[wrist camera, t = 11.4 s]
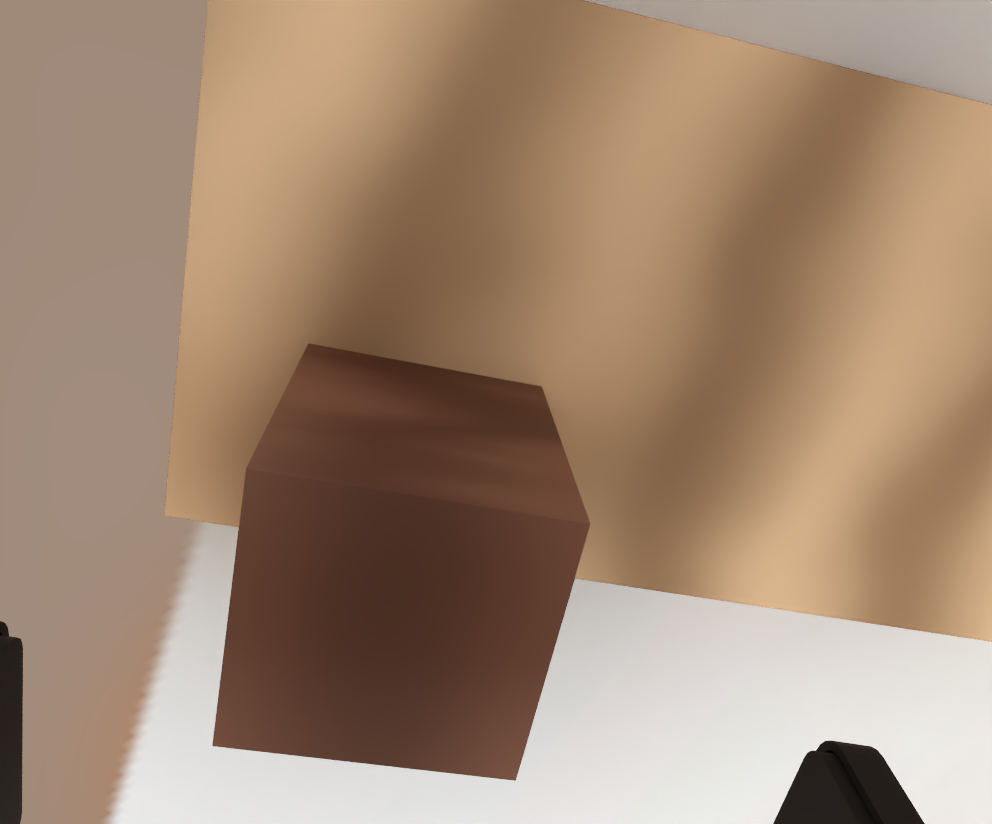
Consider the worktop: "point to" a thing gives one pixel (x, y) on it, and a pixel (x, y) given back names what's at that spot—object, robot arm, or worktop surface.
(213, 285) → the pine board
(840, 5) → the worktop surface
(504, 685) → the brown block
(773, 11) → the worktop surface
